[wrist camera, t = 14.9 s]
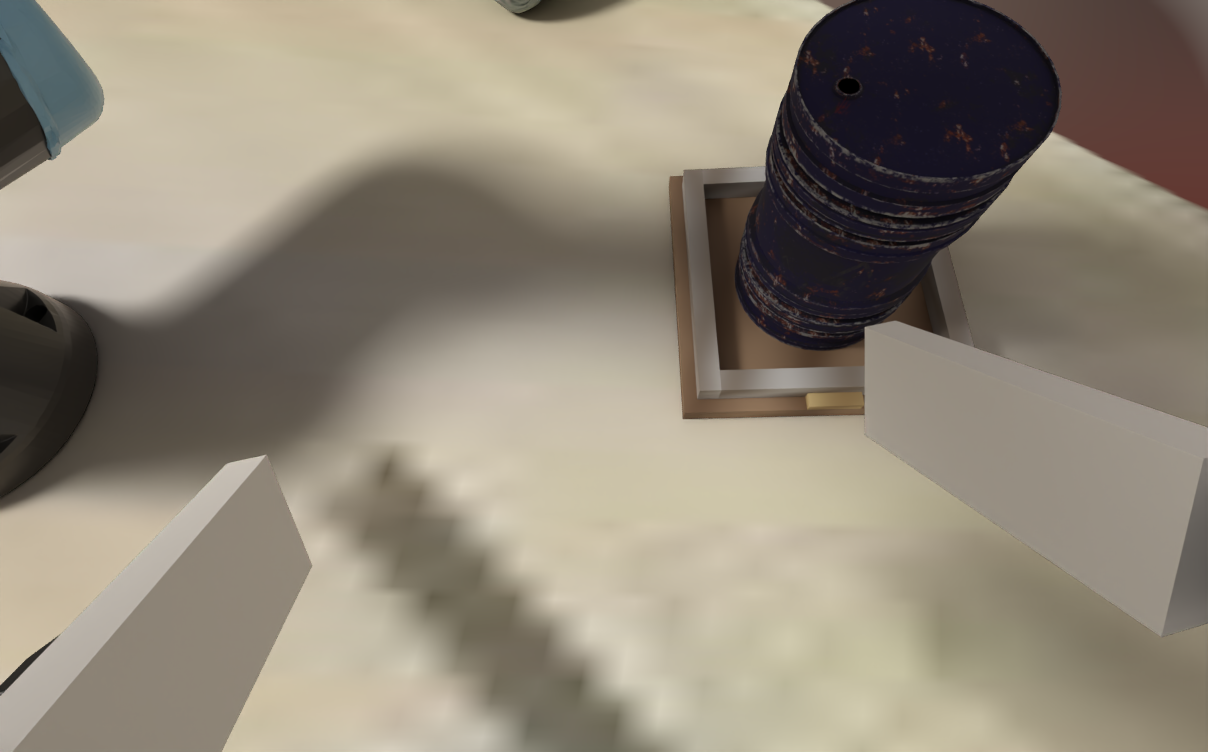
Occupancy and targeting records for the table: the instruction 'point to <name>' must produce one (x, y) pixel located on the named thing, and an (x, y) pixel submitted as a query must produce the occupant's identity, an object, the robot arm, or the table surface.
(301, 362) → the table surface
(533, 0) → the spool
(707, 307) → the cradle plate
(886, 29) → the rusty blue barrel
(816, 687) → the table surface
